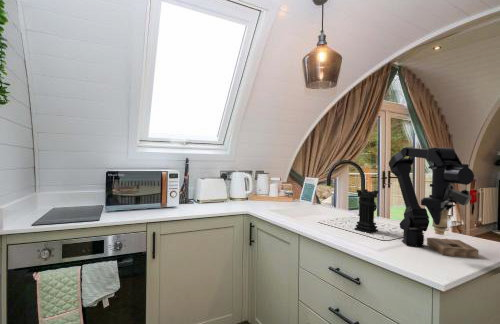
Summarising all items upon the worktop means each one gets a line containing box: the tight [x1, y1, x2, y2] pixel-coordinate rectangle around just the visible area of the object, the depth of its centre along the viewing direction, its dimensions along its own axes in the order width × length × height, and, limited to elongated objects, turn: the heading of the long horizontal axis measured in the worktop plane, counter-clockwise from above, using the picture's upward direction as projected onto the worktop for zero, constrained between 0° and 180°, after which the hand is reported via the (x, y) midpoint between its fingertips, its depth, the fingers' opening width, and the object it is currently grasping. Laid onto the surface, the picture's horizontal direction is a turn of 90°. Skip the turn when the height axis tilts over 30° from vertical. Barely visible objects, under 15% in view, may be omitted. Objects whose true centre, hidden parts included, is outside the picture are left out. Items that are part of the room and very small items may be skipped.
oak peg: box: [431, 209, 449, 236], centre depth 98 cm, size 4×4×9 cm
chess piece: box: [353, 188, 379, 234], centre depth 132 cm, size 8×8×20 cm
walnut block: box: [426, 237, 479, 259], centre depth 106 cm, size 12×12×3 cm
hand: (439, 223), depth 98 cm, fingers closed on oak peg, 4 cm apart
